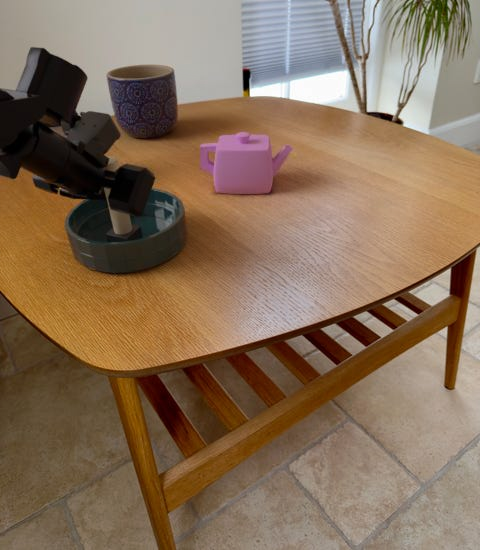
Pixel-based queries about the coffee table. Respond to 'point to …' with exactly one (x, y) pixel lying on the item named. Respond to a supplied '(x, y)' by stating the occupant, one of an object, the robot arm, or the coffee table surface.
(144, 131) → the planter
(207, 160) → the teapot
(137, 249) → the basin
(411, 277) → the coffee table surface
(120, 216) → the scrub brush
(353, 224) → the coffee table surface
